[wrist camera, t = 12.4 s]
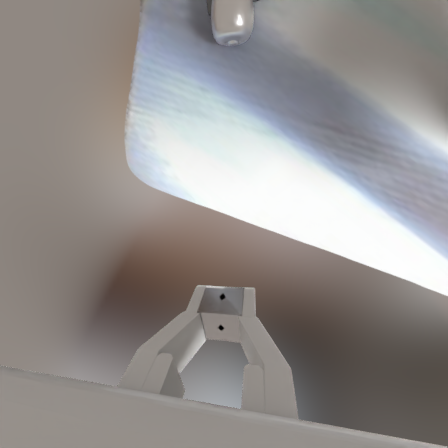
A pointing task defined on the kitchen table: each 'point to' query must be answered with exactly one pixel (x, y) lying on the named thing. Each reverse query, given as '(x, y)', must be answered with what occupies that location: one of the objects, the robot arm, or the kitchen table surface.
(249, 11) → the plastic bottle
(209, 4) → the mat
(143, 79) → the kitchen table surface
